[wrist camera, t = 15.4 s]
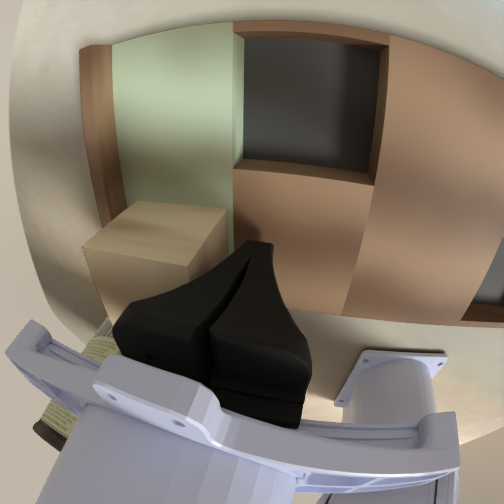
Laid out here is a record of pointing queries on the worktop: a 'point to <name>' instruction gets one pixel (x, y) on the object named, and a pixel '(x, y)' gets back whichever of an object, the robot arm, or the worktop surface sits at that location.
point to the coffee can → (57, 417)
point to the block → (154, 251)
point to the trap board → (315, 159)
